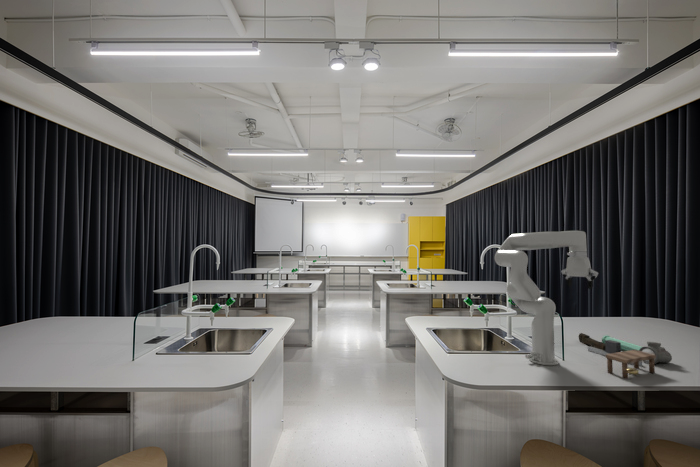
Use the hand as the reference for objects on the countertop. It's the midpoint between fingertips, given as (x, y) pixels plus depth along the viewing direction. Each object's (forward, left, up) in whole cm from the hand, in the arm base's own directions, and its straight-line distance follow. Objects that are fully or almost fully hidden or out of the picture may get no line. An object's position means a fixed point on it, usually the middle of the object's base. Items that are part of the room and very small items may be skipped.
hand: (579, 287), depth 170 cm
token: (-2, -23, -36) cm, 42 cm away
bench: (-2, -23, -35) cm, 42 cm away
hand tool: (+20, +9, -36) cm, 42 cm away
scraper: (+12, -7, -36) cm, 38 cm away
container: (+30, -3, -36) cm, 47 cm away
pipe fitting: (+24, -19, -36) cm, 47 cm away
